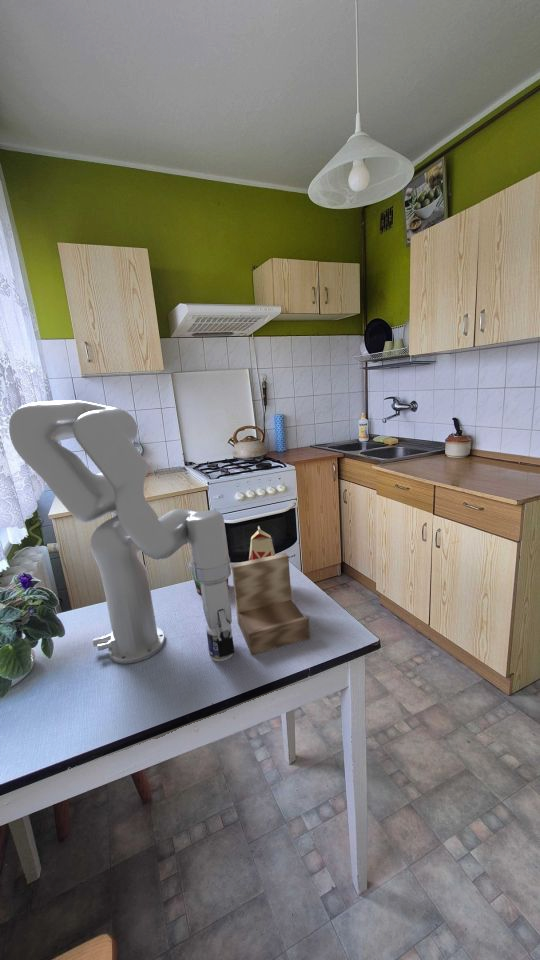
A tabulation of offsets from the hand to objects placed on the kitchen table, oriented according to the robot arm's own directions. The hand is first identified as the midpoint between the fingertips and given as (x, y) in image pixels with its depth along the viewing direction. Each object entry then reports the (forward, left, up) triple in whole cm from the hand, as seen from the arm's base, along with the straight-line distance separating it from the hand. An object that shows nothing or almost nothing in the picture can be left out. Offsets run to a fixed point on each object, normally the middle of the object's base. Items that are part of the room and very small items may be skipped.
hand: (222, 641), depth 84 cm
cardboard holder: (+13, +4, -3) cm, 14 cm away
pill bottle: (0, 0, -4) cm, 4 cm away
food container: (+3, +28, -4) cm, 29 cm away
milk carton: (+17, +22, -4) cm, 28 cm away
